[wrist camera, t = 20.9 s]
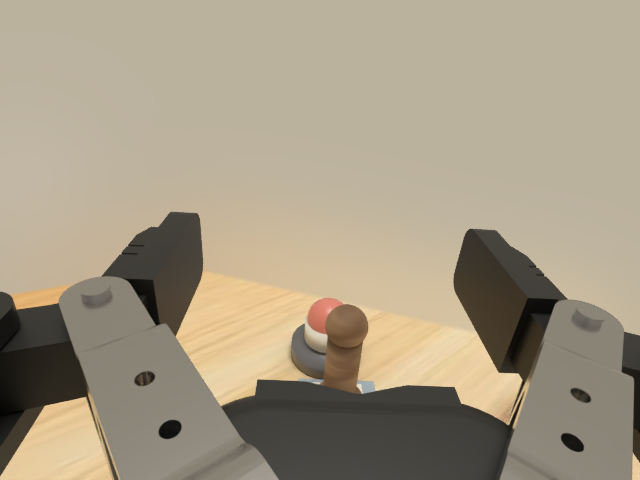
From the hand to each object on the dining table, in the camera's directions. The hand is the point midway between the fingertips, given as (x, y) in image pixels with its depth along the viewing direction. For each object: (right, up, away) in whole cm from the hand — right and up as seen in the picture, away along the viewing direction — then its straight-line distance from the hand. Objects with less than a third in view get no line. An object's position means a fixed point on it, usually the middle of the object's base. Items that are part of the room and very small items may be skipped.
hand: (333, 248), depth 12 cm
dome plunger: (0, -11, +34) cm, 36 cm away
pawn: (+1, -16, +27) cm, 32 cm away
